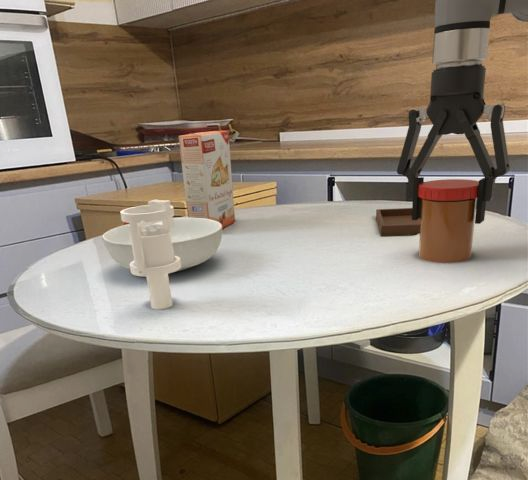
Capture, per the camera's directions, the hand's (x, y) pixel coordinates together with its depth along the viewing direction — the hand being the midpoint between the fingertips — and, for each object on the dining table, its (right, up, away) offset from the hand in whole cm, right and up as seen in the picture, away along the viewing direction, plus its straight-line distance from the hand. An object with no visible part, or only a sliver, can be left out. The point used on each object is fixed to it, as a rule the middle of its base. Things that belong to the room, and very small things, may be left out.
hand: (447, 220), depth 87 cm
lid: (0, +5, -2) cm, 5 cm away
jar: (0, -6, +3) cm, 6 cm away
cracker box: (-42, +7, +38) cm, 57 cm away
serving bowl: (-47, -6, +10) cm, 49 cm away
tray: (+1, +5, +26) cm, 27 cm away
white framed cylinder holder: (-45, -15, -10) cm, 48 cm away
